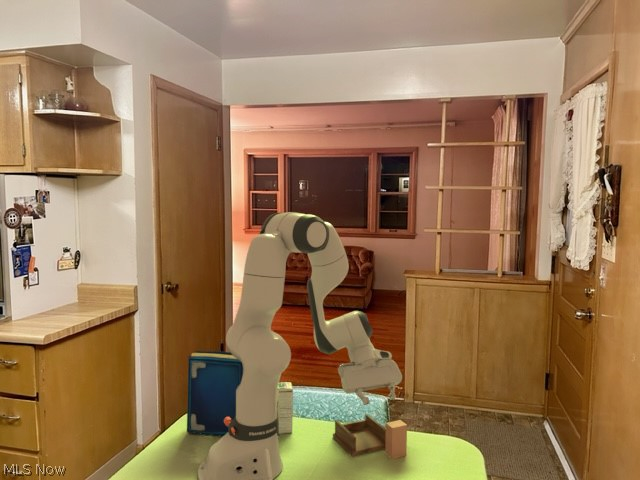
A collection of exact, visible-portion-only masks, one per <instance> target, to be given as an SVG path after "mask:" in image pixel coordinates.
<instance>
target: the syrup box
mask: <svg viewBox="0 0 640 480" xmlns="http://www.w3.org/2000/svg"><path fill="white" fill-rule="evenodd" d="M293 410H294V387H293V384H292V382H290V381H289V382H287V381H281V382H280V381H279V384H278V391H277V415H278V418H279V434H290V433H293V415H294V414H293ZM279 434H278V435H279Z"/></svg>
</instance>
